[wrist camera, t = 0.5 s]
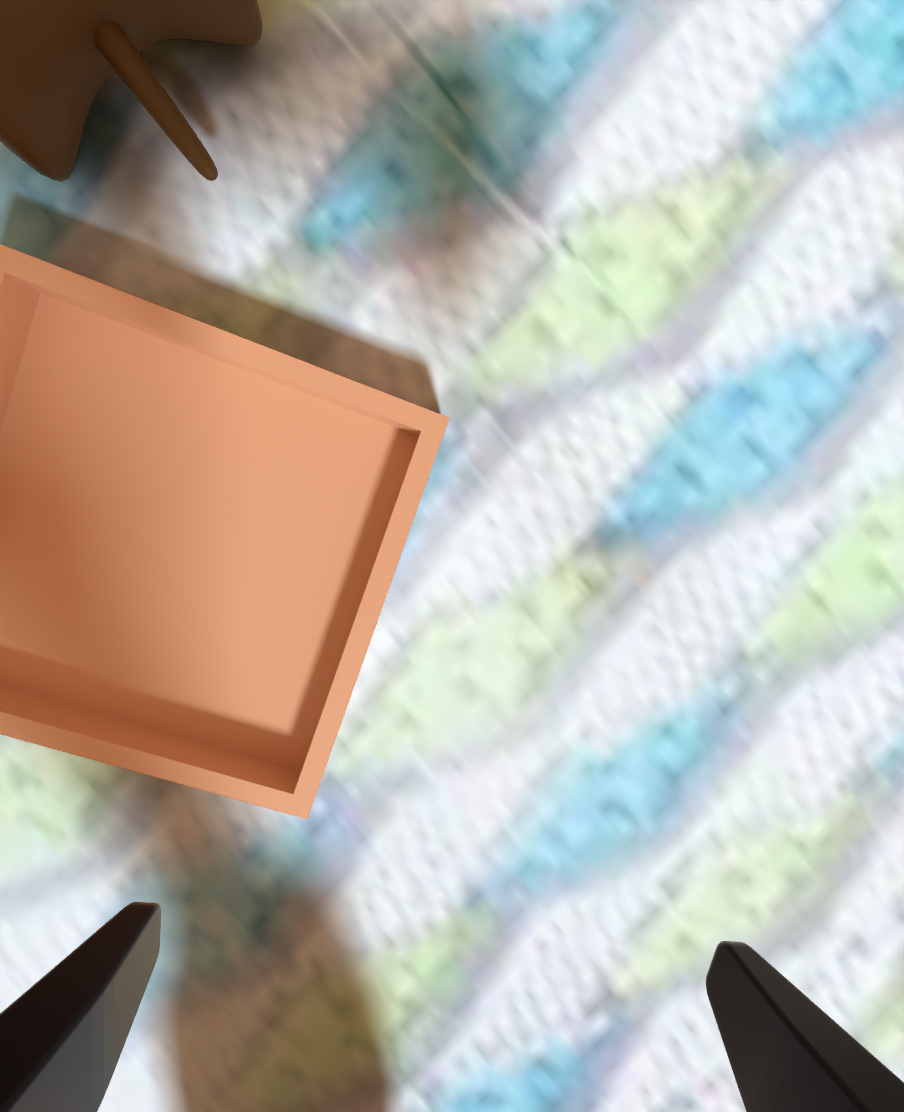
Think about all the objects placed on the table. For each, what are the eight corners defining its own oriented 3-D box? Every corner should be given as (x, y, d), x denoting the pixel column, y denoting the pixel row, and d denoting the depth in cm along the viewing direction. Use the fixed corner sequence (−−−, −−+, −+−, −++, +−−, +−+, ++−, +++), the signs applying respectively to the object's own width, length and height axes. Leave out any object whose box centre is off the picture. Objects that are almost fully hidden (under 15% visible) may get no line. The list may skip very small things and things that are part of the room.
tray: (317, 783, 22) (307, 819, 20) (-78, 670, 20) (-145, 694, 18) (444, 427, 21) (449, 417, 19) (39, 272, 19) (-15, 238, 17)
